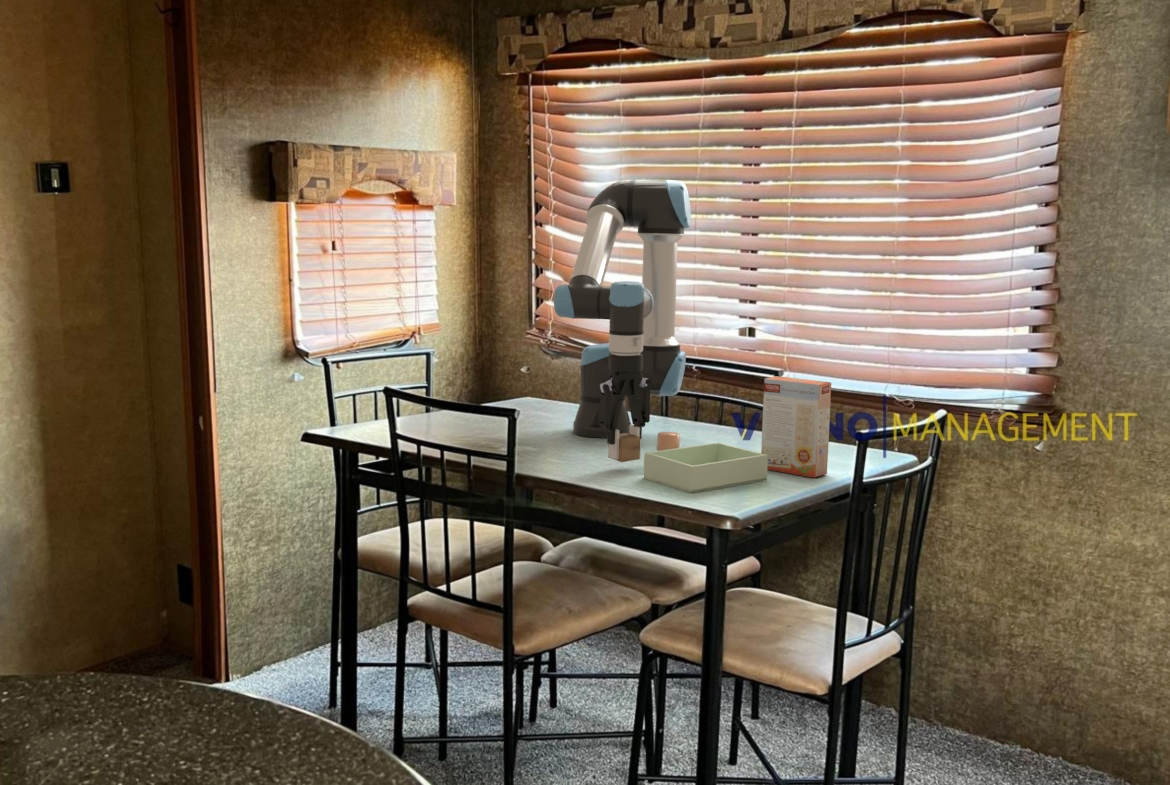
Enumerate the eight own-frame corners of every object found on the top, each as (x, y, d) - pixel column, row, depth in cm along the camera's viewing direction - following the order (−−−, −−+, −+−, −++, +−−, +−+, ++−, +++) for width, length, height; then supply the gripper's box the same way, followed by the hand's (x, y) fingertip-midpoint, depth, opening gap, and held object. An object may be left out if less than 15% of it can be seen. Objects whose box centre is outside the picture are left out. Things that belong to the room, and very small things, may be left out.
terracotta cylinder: (652, 463, 257) (653, 433, 256) (669, 460, 260) (670, 430, 259) (666, 467, 253) (667, 436, 252) (683, 464, 256) (684, 434, 255)
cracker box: (828, 474, 248) (833, 381, 245) (814, 479, 244) (819, 384, 241) (773, 464, 257) (777, 374, 254) (759, 468, 253) (763, 377, 250)
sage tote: (643, 478, 242) (644, 452, 241) (717, 466, 254) (718, 442, 253) (691, 493, 229) (692, 466, 228) (766, 480, 242) (767, 455, 241)
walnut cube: (608, 457, 250) (608, 435, 249) (626, 454, 252) (626, 432, 251) (621, 462, 246) (622, 440, 245) (639, 459, 248) (640, 437, 247)
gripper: (603, 358, 236) (601, 465, 241) (668, 351, 247) (666, 454, 251) (582, 353, 242) (581, 458, 247) (647, 347, 253) (644, 447, 257)
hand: (624, 456), depth 249 cm, fingers closed on walnut cube, 5 cm apart
